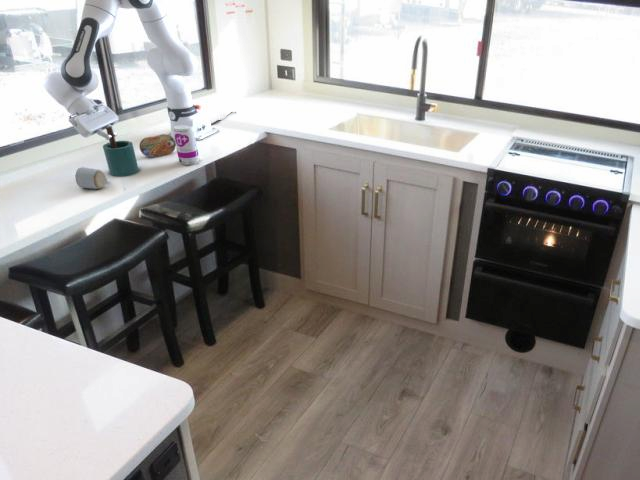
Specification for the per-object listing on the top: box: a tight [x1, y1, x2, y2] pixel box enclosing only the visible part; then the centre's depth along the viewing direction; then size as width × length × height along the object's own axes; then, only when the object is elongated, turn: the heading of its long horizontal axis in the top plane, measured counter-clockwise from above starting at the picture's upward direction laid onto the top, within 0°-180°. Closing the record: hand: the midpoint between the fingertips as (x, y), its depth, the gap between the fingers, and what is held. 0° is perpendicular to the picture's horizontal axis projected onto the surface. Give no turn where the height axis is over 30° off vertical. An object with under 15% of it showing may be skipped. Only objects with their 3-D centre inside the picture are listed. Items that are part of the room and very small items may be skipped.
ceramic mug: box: [75, 166, 109, 190], centre depth 218 cm, size 11×8×8 cm
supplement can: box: [173, 124, 200, 166], centre depth 240 cm, size 8×8×15 cm
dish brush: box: [105, 126, 117, 148], centre depth 229 cm, size 5×5×16 cm
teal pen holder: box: [102, 140, 139, 177], centre depth 231 cm, size 11×11×11 cm
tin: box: [138, 133, 176, 159], centre depth 249 cm, size 15×3×8 cm, turn 131°
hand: (112, 137), depth 226 cm, fingers closed on dish brush, 2 cm apart
